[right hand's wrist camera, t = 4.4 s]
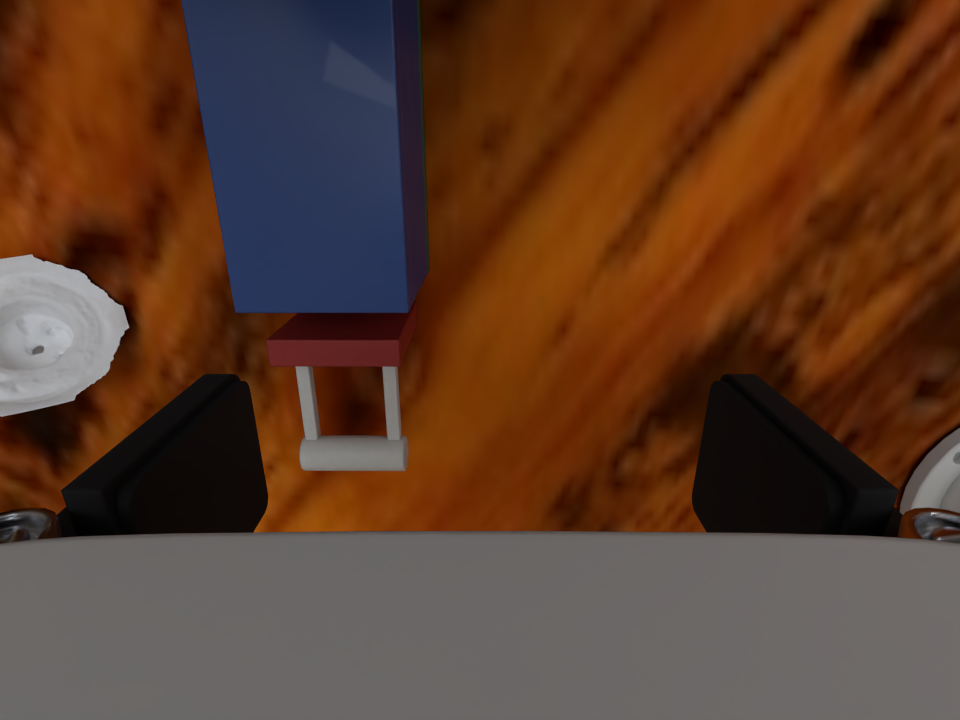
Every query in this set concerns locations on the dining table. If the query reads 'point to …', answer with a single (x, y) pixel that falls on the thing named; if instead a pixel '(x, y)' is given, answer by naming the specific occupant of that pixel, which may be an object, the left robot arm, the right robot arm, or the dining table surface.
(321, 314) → the drawer
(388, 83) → the cabinet
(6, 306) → the seashell
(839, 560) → the right robot arm
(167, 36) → the dining table surface
